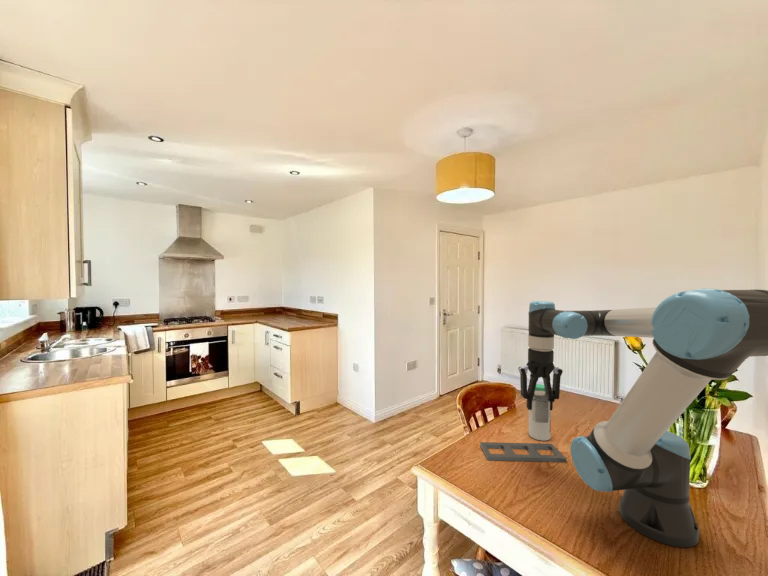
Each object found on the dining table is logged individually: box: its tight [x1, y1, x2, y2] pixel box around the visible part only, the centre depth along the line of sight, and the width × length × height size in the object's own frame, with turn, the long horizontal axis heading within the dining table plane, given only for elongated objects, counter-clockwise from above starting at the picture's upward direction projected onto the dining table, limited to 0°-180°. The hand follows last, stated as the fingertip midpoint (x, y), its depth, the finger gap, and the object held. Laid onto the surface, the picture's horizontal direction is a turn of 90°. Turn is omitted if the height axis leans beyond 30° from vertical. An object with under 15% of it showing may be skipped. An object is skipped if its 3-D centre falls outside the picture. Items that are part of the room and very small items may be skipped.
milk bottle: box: [528, 383, 552, 442], centre depth 125 cm, size 8×8×20 cm
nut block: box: [533, 391, 549, 423], centre depth 105 cm, size 4×4×9 cm
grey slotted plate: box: [479, 441, 567, 463], centre depth 113 cm, size 10×26×1 cm, turn 88°
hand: (539, 419), depth 105 cm, fingers closed on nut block, 4 cm apart
